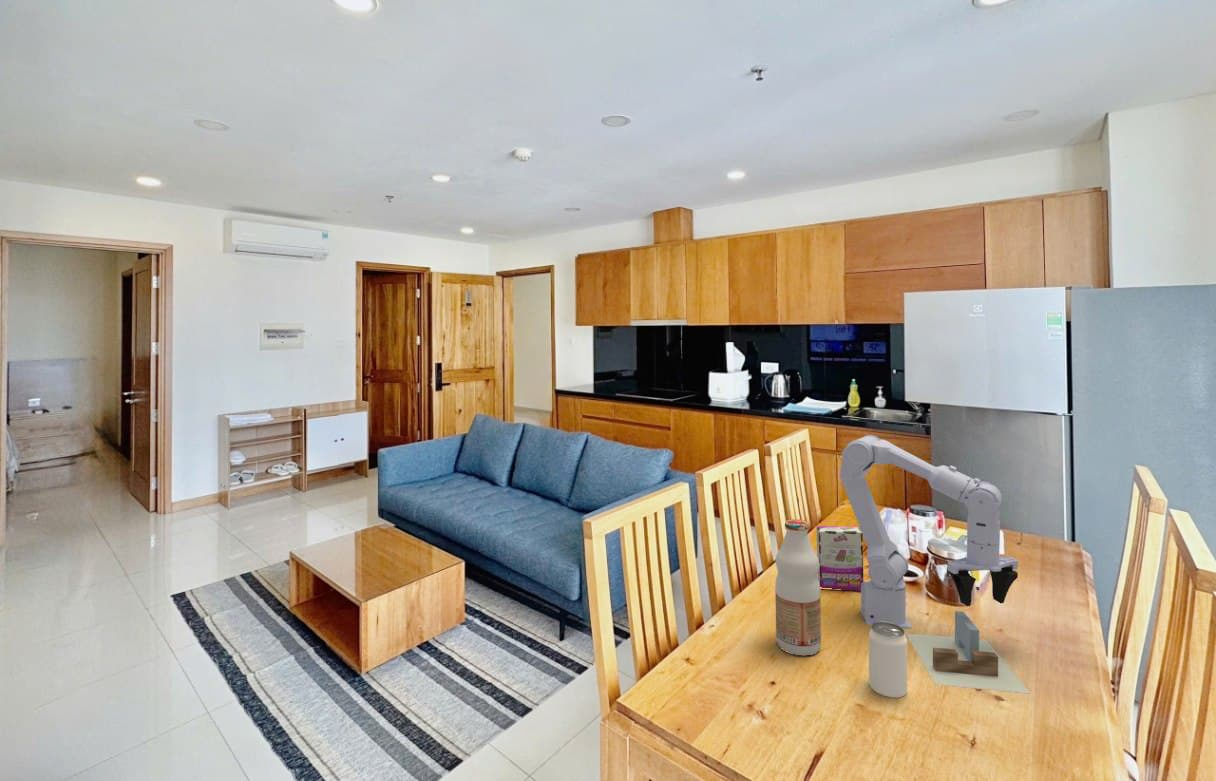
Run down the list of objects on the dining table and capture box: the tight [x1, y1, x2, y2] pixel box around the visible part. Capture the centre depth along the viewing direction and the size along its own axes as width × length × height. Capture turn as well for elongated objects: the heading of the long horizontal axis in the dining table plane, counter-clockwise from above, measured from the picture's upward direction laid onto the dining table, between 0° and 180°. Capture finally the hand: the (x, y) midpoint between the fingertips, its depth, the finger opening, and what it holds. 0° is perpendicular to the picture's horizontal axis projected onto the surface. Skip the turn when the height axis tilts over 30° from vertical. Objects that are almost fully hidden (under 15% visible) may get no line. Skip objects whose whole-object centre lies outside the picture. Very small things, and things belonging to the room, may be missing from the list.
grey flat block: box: [954, 610, 980, 661], centre depth 115 cm, size 2×8×7 cm, turn 166°
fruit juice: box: [774, 518, 822, 657], centre depth 119 cm, size 9×9×28 cm
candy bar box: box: [816, 525, 864, 592], centre depth 147 cm, size 11×5×16 cm, turn 77°
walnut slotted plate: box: [933, 648, 998, 677], centre depth 108 cm, size 11×2×4 cm, turn 76°
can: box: [868, 622, 908, 699], centre depth 104 cm, size 6×6×12 cm
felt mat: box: [905, 633, 1032, 695], centre depth 112 cm, size 16×19×1 cm
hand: (981, 602), depth 116 cm, fingers open, 7 cm apart
